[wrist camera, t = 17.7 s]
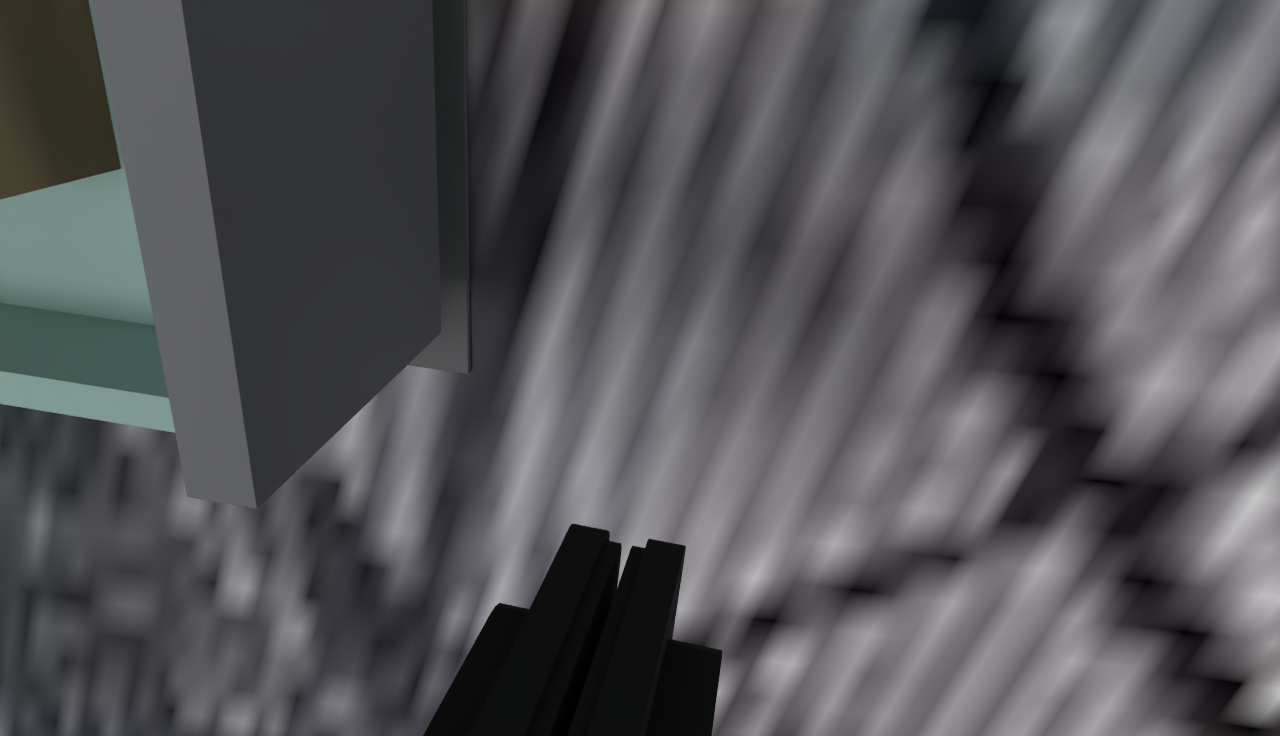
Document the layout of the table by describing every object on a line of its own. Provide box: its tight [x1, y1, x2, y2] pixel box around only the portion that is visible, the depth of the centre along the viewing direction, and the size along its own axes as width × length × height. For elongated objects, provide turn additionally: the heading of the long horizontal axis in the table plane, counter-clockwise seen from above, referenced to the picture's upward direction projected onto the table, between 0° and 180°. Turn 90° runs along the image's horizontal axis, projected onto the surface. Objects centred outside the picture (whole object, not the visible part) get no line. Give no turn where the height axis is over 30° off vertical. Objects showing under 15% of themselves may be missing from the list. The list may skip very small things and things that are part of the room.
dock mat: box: [408, 0, 471, 374], centre depth 20 cm, size 18×16×1 cm
